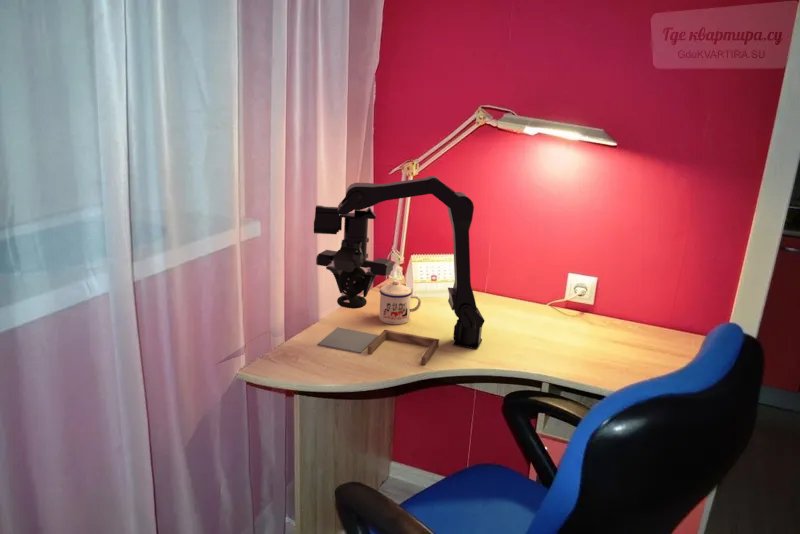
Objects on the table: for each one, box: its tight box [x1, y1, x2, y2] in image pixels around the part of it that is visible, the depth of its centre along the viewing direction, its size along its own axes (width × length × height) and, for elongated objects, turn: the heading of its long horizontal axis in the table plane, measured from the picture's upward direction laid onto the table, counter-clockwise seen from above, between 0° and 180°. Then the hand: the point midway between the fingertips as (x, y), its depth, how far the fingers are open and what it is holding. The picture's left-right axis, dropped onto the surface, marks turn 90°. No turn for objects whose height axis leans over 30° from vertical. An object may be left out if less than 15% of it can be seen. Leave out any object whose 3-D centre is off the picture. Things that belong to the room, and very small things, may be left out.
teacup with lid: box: [378, 279, 422, 325], centre depth 170 cm, size 12×9×12 cm
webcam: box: [336, 267, 368, 310], centre depth 151 cm, size 8×8×10 cm
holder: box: [367, 329, 440, 366], centre depth 152 cm, size 15×12×2 cm
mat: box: [317, 327, 380, 355], centre depth 156 cm, size 12×12×1 cm
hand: (353, 294), depth 152 cm, fingers closed on webcam, 6 cm apart
